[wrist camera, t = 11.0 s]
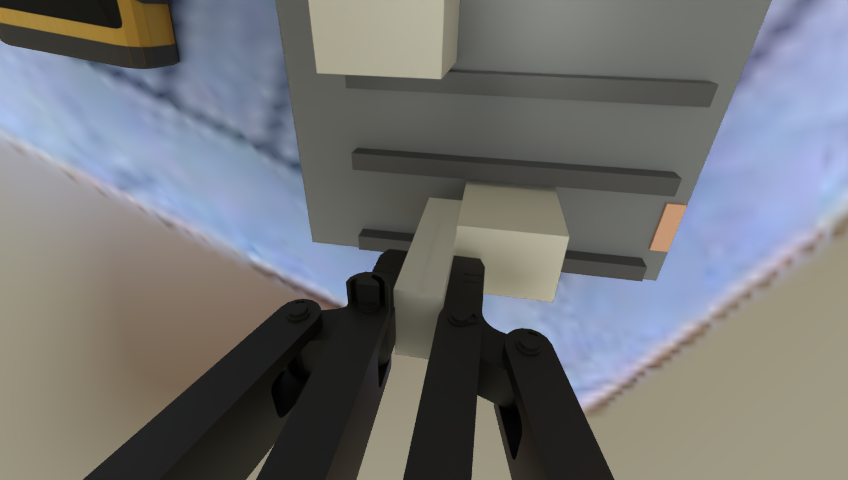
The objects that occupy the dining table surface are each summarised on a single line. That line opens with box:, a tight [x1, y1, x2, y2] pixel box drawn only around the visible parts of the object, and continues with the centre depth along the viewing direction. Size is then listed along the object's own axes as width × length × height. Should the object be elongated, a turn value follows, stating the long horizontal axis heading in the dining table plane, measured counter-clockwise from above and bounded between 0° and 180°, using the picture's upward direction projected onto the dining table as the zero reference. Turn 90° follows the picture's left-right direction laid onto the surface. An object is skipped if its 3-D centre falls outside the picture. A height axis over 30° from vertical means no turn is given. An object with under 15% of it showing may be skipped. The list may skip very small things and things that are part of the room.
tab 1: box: [308, 0, 460, 79], centre depth 13 cm, size 3×4×4 cm
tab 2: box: [455, 180, 569, 302], centre depth 17 cm, size 3×4×4 cm
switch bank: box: [276, 0, 772, 281], centre depth 15 cm, size 22×18×3 cm
